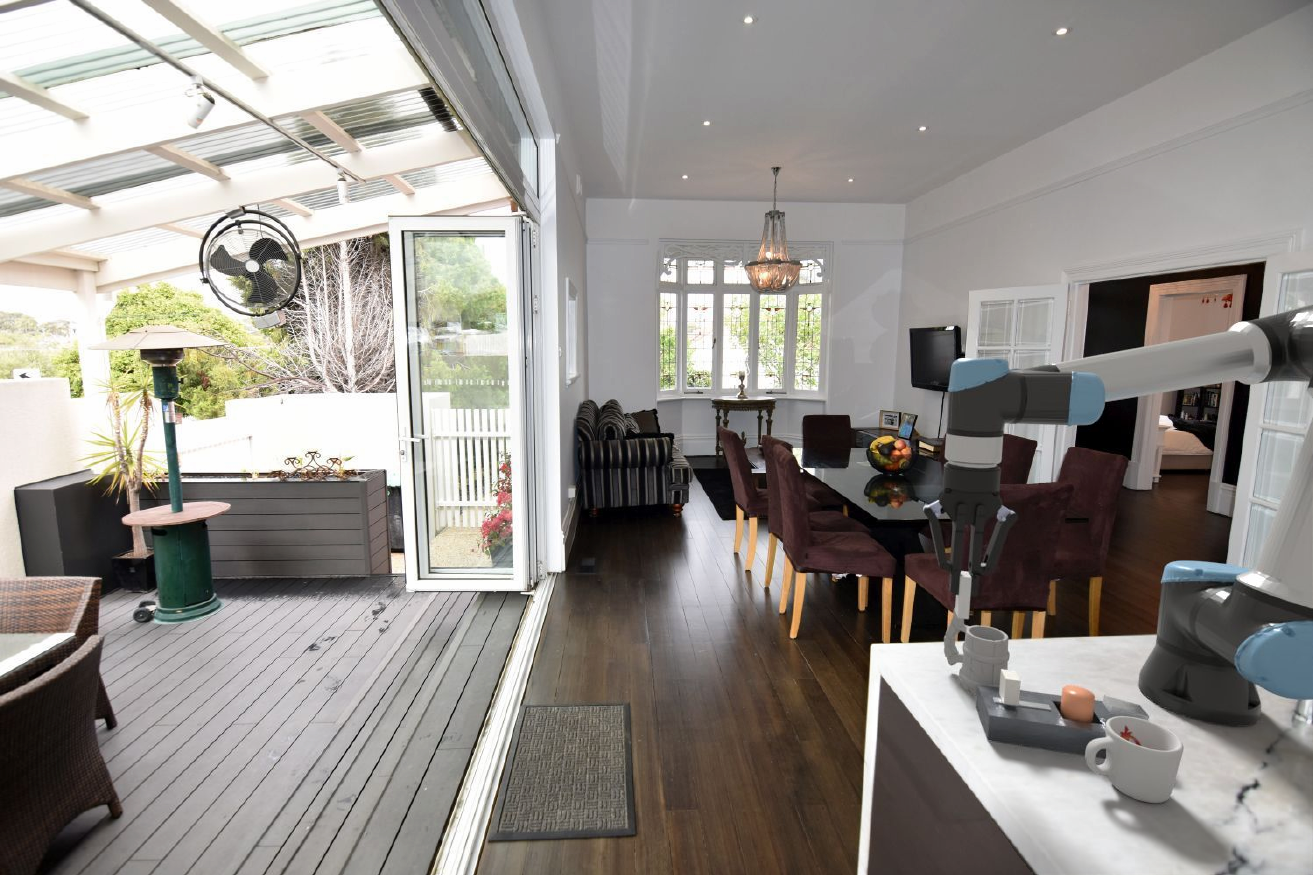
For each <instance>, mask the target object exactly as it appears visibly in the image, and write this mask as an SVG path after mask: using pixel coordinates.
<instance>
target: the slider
mask: <svg viewBox="0 0 1313 875" xmlns="http://www.w3.org/2000/svg"><path fill="white" fill-rule="evenodd" d="M1021 682H1022V680H1021V678H1020V676H1019V675H1018V674H1017V671H1016V670H1010V669H1008V670H1003V669H1001V675H1000V689H999V694H1000V696H1001V699H1002V701H1003V703H1004V704H1009V705H1016V706H1019V697H1020V690H1021Z"/></svg>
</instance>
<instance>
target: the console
mask: <svg viewBox="0 0 1313 875" xmlns="http://www.w3.org/2000/svg"><path fill="white" fill-rule="evenodd" d="M999 689H1000V687H993V686H986V685H978V684H977V695H976V696H975V697H976V699H975V710H976V712H977V715H978V717H979V720H980V724H981V726H982V729H983V731H984V734H985V736H986V739H987V741H989V742H995V743H1002V744H1008V745H1014V746H1021V747H1027V748H1028V747H1029V748H1034V749H1039V750H1040V749H1041V750H1047V751H1053V752H1061V753H1066V754H1071V755H1072V754H1073V755H1077V756H1084V757H1085V752H1086V747H1087V745H1088V744H1089V742H1091V741H1092V740H1094V739H1098V738H1105V737H1106V730H1105V725H1106V722H1107V720H1108V719H1110V718H1112V717H1117V716H1119V715H1115V714H1112V713H1110V712H1109V711H1108V709H1107V708H1106V707H1105V705H1104V704H1103V703H1102V701H1103V700H1099V699H1097V700H1096V699H1095V702H1094V713H1093V723H1089V722H1082V721H1075V720H1068V719H1063V718H1062V716H1061V715H1060V710H1061V698H1062V694H1061V695H1059V694H1052V693H1043V692H1037V691H1029V690H1023V689H1022V690H1021V689H1020V697H1019V706H1016V705H1009V704H1004V703H1003V701H1002V699H1001V696H1000V694H999ZM1095 758H1097V759H1105V760H1106V749H1101V750H1099V751H1098V752H1097V754H1096V757H1095Z"/></svg>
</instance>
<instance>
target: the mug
mask: <svg viewBox="0 0 1313 875" xmlns="http://www.w3.org/2000/svg"><path fill="white" fill-rule="evenodd" d="M960 632H963V633H965V637H964V642H963V643H962V648H961V649H962V652H963V653H960V651H959V650H958V648H957V646H956V637H957V635H958V634H959V633H960ZM943 652H944V657H945V658H946V660H947V663H948V665H949V666H954V665H956V664H957V663H958V664H959V663H961V668H960V669H959V671H958V676H959V679H960V686H961V687H962V689H964V690H965V691H966V692H970V693H971V694H972V695H974V696H977V684H978V685H986V686H993V687H1000V675H1001V669H1003V670H1009V669H1008V666H1009V665H1008V664H1009V660H1010V651H1009V636H1008V634H1006V632H1004V631H1003V630H999V629H998V628H995V627H991V626H987V625H977V624H975V625H971V626H969V625H966V624H965V619H963V618H958V617H957V615H956V612H955V608H954V609H953V615H952V618H951V619H950V622H949V625H948V627H947V630H946V632H945V635H944V637H943Z"/></svg>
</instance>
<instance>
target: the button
mask: <svg viewBox="0 0 1313 875" xmlns="http://www.w3.org/2000/svg"><path fill="white" fill-rule="evenodd" d="M1061 696H1062V698H1061V710H1060V715H1061V716H1062V718H1063V719H1068V720H1075V721H1082V722H1089V723H1093V713H1094V702H1095V700H1096V696H1095V694H1094V693H1093V692H1092V691H1091V690H1089V689H1086V688H1084V687H1081V686H1078V685H1072V684H1071V685H1064V686H1062V690H1061Z"/></svg>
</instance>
